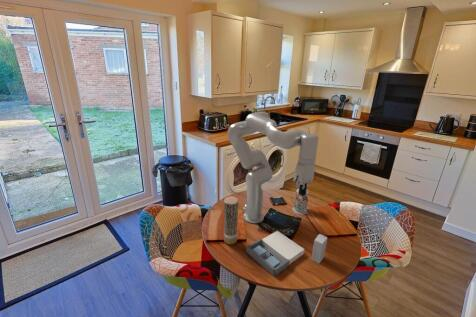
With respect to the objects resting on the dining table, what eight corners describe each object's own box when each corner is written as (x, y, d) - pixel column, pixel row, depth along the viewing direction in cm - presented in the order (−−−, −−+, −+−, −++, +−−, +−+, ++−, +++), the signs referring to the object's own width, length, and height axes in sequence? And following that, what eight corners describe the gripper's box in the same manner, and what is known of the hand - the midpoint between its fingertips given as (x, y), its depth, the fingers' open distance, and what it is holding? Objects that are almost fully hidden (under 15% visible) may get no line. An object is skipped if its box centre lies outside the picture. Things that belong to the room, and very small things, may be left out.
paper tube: (239, 239, 131) (240, 198, 122) (232, 246, 125) (233, 205, 116) (228, 234, 134) (229, 195, 125) (221, 242, 128) (221, 201, 119)
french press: (309, 214, 154) (315, 179, 144) (291, 214, 154) (295, 178, 145) (306, 206, 163) (311, 172, 154) (288, 205, 163) (292, 171, 154)
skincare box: (315, 252, 123) (319, 233, 118) (324, 256, 120) (327, 237, 116) (310, 259, 118) (314, 239, 114) (319, 264, 116) (323, 243, 111)
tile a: (272, 255, 116) (271, 259, 117) (264, 260, 113) (264, 264, 114) (280, 262, 113) (279, 266, 113) (272, 267, 110) (272, 271, 111)
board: (261, 244, 128) (261, 239, 126) (276, 235, 135) (277, 230, 134) (288, 265, 115) (288, 260, 114) (303, 253, 122) (304, 249, 121)
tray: (246, 252, 122) (246, 246, 121) (260, 243, 128) (260, 238, 127) (274, 276, 108) (274, 270, 107) (288, 266, 114) (289, 260, 113)
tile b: (259, 245, 122) (258, 249, 123) (251, 249, 119) (251, 253, 120) (266, 251, 119) (266, 255, 120) (259, 255, 116) (258, 259, 117)
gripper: (310, 154, 120) (305, 187, 127) (289, 161, 112) (285, 196, 119) (323, 159, 115) (317, 193, 122) (303, 166, 106) (298, 202, 113)
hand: (302, 194), depth 120 cm, fingers closed
